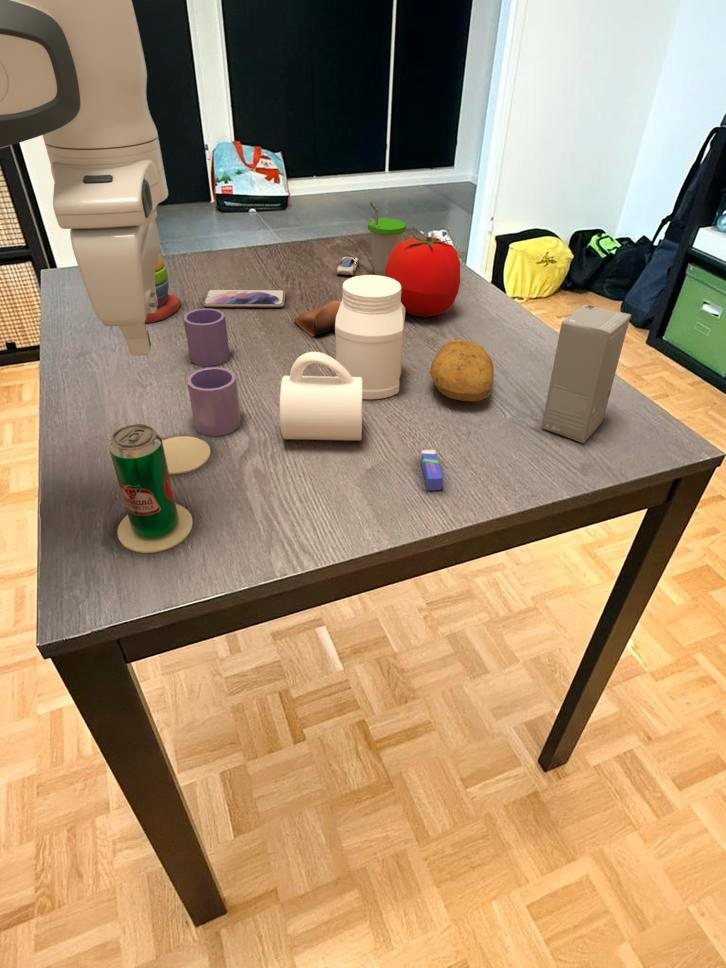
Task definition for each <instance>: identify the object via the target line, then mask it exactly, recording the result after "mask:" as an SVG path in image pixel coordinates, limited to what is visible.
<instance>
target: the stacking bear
mask: <svg viewBox="0 0 726 968" xmlns="http://www.w3.org/2000/svg"><path fill="white" fill-rule="evenodd" d="M169 283H170V282H169V274H168V271H167V267H166V265H165V263H164V260H163V257H162V254H161V252H159V257H158V262H157V267H156V272H155V288H156V296H157V301H158V308H157V312H156V313H152V314H151V313H148V314H147V315H146V320H145V324H148V323H156V322H159V321H162V320H165V319H167V318H169V317H171V316H172V315H173V314H175V313H176V312H177V311H178V310H179V308H180V307H181V300H180V298H179V297H178V296H177V295H174V294H169V289H170V288H169V287H170V284H169Z"/></svg>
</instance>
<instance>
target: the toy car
mask: <svg viewBox="0 0 726 968" xmlns="http://www.w3.org/2000/svg"><path fill="white" fill-rule="evenodd" d="M354 258H355V259H354ZM357 261H358V262H357ZM359 261H360V260H359V258H358V257H357V256H355V257H354V256H343V257H342V258H341V261H340V264H339V265H338V266H337V268H336V275H344V276H352V277H355V276H354V275H355V271H356V269H357V267H358V266H359ZM356 262H357V264H356ZM355 264H356V265H355Z"/></svg>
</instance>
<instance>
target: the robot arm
mask: <svg viewBox="0 0 726 968" xmlns="http://www.w3.org/2000/svg"><path fill="white" fill-rule="evenodd" d="M145 59H146V58H145V54H144V50H143V44H142V38H141V35H140V30H139V25H138V20H137V16H136V12H135V9H134V4H133V1H132V0H0V149H3V148H6V147H7V148H8V147H10V146H12V145H16V144H19V143H23V142H26V141H29V140H32V139H35V138H38V137H41V136H42V138H43V143H44V146H45V149H46V153H47V156H48V157H47V158H48V160H49V164H50V172H51V175H52V178H53V182H54V184H53V195H52V208H53V212H54V215H55V219H56V221H57V224H58V227H59V228H60V229H62V230H69V236H70V242H71V247H72V248H71V249H72V251H73V255H74V258H75V261H76V264H77V267H78V270H79V273H80V276H81V278H82V281H83V282H82V283H83V285H84V287H85V290H86V293H87V296H88V299H89V301H90V304H91V307H92V309H93V311H94V314H95V315H96V317H97V318H98V321H100V323H101V324H102V325H103V326H105V327H119V330H120V331H121V332H122V335H123V336H124V338H125V341H126V344H127V347H128V352H129V354H130V355H132V356H133V357H141V356H147V355H148V356H149V354H150V353H151V347H152V343H151V337H150V333H149V330H148V329H147V326H146V323H145V320H146V315H147V314H148V313H151V314H152V313H156V312H157V308H158V301H157V296H156V288H155V272H156V267H157V262H158V257H159V253H161V239H160V234H159V229H158V225H157V218H158V211H157V206H158V205H159V204H161V203H162V202H164V201H165V200H166V199H168V196H169V189H168V185H167V179H166V173H165V172H166V171H165V167H164V161H163V156H162V151H161V144H160V139H159V134H158V133H159V132H158V129H157V127H156V124H155V122H154V120H153V117H152V115H151V112H150V109H149V105H148V99H147V85H148V84H147V83H148V70H147V65H146V60H145Z"/></svg>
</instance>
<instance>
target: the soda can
mask: <svg viewBox="0 0 726 968" xmlns="http://www.w3.org/2000/svg"><path fill="white" fill-rule="evenodd" d="M162 441H163V440H162V438H161V436H160V435H159V434H158V433H157V431H156V429H155V428H154V427H152V426H150V425H147V424H143V423H137V424H129V425H125V426H123V427H121V428H119V429H117V430H115V431H114V432H113V433H112V435H111V436H110V445H109V448H108V451H109V454H110V458H111V461H112V464H113V465H112V466H113V468H114V471H115V472H114V473H115V476H116V480H117V482H118V486H119V489H120V493H121V497H122V500H123V503H124V507H125V511H126V515H128V518H129V521H130V525H131V528H132V530H133V532H134V533H135V534H137V535H139V536H141V537H144V538H149V539H154V538H160V537H163V536H165V535H167V534H169V533H170V532H171V531H172V530H173V529H174V528H175V527H176V525H177V524H178V521H179V516H178V512H177V507H176V504H177V502H176V499H175V494H174V493H175V492H174V489H173V484H172V480H171V479H172V478H171V476H170V475H169V470H168V466H167V461H166V456H165V452H164V447H163V443H162Z"/></svg>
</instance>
